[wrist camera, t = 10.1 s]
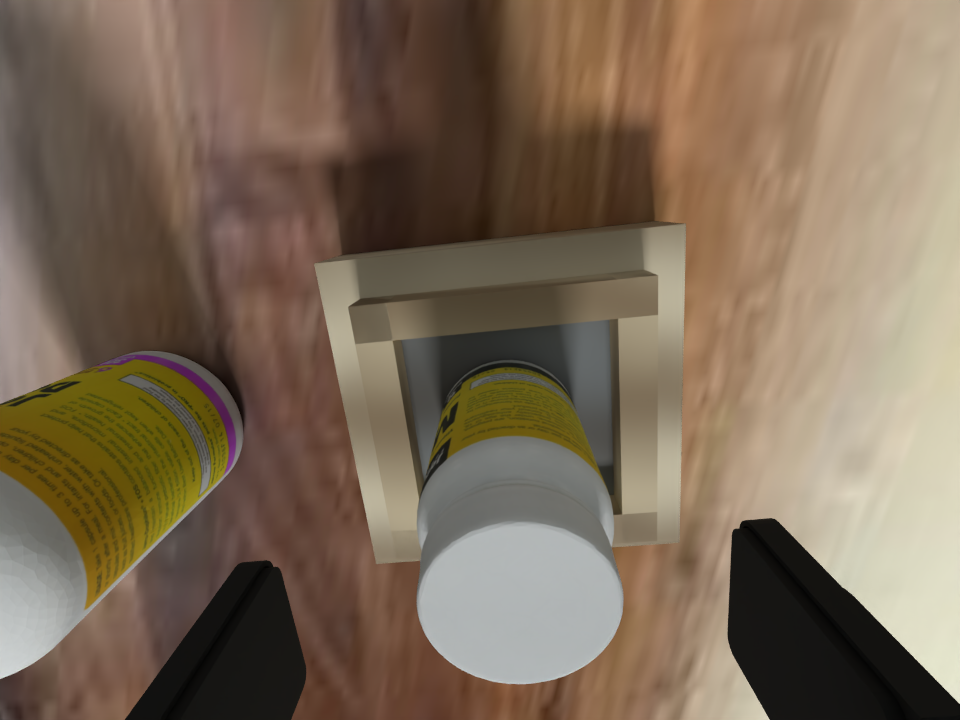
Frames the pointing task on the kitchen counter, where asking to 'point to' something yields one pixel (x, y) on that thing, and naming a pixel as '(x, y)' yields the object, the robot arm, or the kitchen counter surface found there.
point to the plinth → (515, 358)
